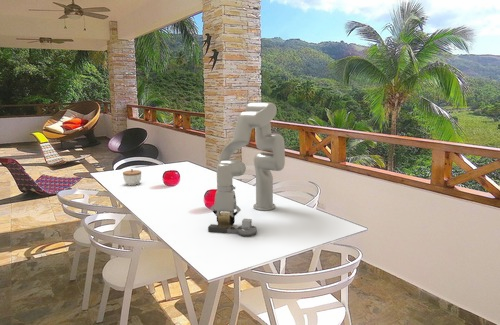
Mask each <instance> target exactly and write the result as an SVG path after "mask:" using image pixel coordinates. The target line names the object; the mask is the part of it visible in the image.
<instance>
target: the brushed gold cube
mask: <svg viewBox="0 0 500 325" xmlns="http://www.w3.org/2000/svg"><path fill="white" fill-rule="evenodd" d="M217 225H228V226H229V227H233V225H231V214H230V212H223V211H221V212H220V214H219V215H218V222H217Z"/></svg>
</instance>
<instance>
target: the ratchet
mask: <svg viewBox="0 0 500 325" xmlns="http://www.w3.org/2000/svg"><path fill="white" fill-rule="evenodd" d="M252 221H253V220H252V218H243V219H242V220H241V225H239V226H238V227H235V226H231V227H229V226H228V225H218V224H215V223H214V224H213V223H211V224H210V225H208V227H207V231H208V233H219V234H235V235H238V236H240V237H244V238H249V237H251V238H252V237H254V236H256V235H257V233H258V231H257V227H256V226H255V225H252V223H253V222H252Z"/></svg>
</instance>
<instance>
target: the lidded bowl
mask: <svg viewBox="0 0 500 325" xmlns="http://www.w3.org/2000/svg"><path fill="white" fill-rule="evenodd" d="M122 175H123V177H122V178H123V180H124V182H125V184H127V186H130V185H132V186H137V185H136V184H138V185H139V183H140V182H141V180H142V170H139V169H138V170H136V169H130V170H126V171H122Z"/></svg>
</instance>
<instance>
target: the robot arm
mask: <svg viewBox="0 0 500 325" xmlns="http://www.w3.org/2000/svg"><path fill="white" fill-rule="evenodd" d="M277 110H278V108H277V106H276V104H275V103H273V102H267V101H266V102H263V101H262V102H258V101H255V102H253V101H252V102H249V103H247V104H246V106H245V111H241V112H240V113H239V114H238V116H237V120H236V124H235V128H234V131H233V135H232V139H231V140H230V141H229V142H228V143H227V144H226V145H225V146H224V147H223V149H222V150H221V153H220V154H219V158H218V163H217V164H216V189H217V190H216V192H215V193H214V194H215V196H214V204H213V205H211V207H210V208H209V209H210V211H211V212H213V213H214V215H215V217H216V222H217V223H218V215H219V214H220V213H221V212H230V214H231V225H232V226H234V225H235V220H236V219H235V216H237V214H239V213H240V212H241V211H242V210H241V208H240V207H239V205H237V198H236V193H235V190H236V186H234V184H233V178H234V177H241V176H243V175H244V174H245V173H246V169H247V166H246V164H245V163H244V162H243V161H239V160H234V159H233V160H232V159H231V156H232V155H233V154H234V152H235V151H236V150H238V149H241V148H243V147H245V146H248V145H249V143H250V139H251V135H252V130H253V129H255V145H256V148H257V149H258V150H259V151H260V150H261V152H258V153H256V154H255V155H254V157H253V166H254V170H255V204H253V209H254V210H257V211H272V210H275V209H276V208H277V207H276V204H275V203H274V178H273V177H274V176H273V173H272V171H274V172H280V171H283V170H284V167H285V163H286V161H285V160H286V155H285V154H286V151H285V148H286V147H285V138H284V137H283V136H282V135H281V134H280V133H273V132H272V124H271V121H272V120H273V119H274V118H275V117H276V115H277ZM262 151H263V152H262ZM265 151H267V152H265ZM268 151H269V152H268ZM235 210H236V211H235Z"/></svg>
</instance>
